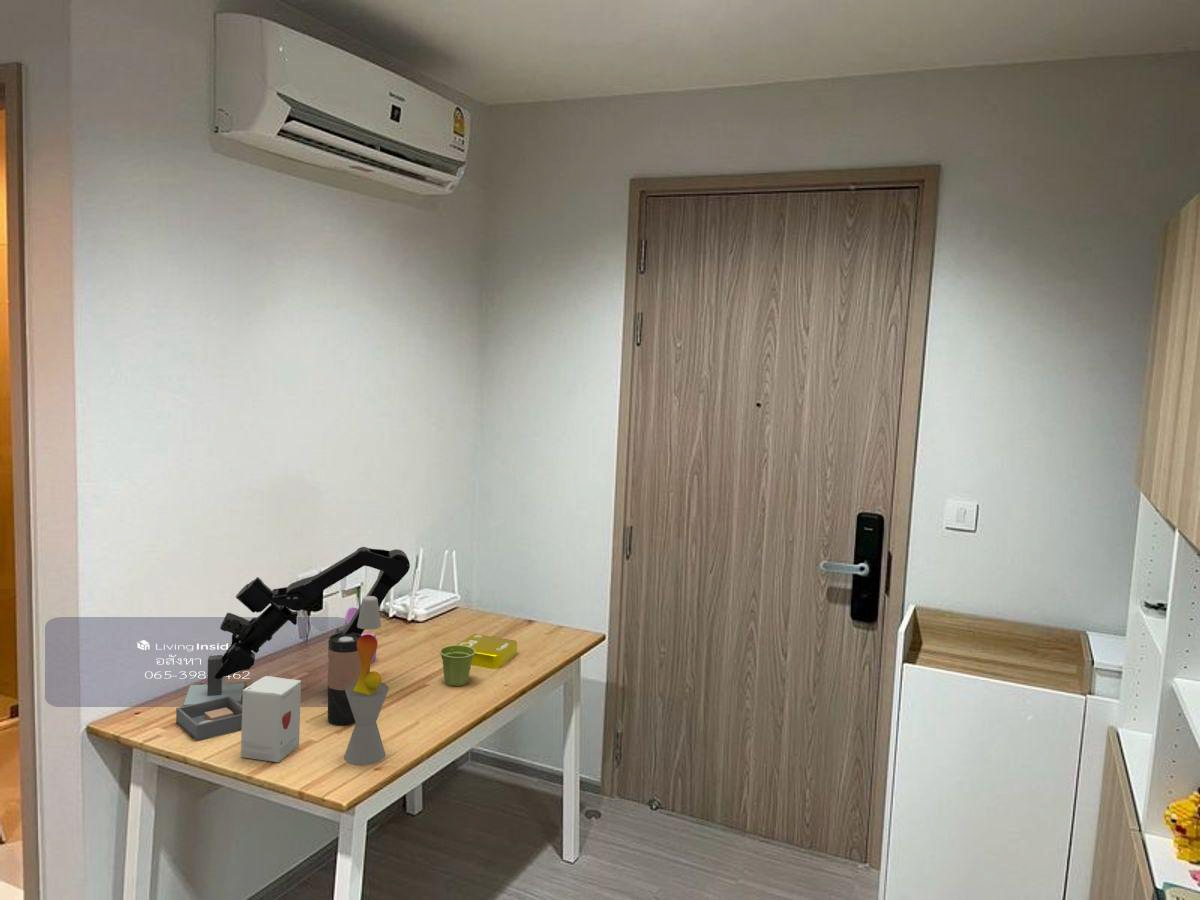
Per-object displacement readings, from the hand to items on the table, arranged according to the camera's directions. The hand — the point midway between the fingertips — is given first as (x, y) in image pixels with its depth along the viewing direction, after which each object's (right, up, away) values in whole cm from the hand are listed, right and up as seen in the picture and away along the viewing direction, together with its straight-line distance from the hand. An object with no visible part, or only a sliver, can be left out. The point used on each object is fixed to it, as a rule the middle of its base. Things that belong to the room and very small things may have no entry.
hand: (217, 671), depth 216 cm
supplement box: (+22, -12, -24) cm, 35 cm away
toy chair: (+25, -6, +32) cm, 41 cm away
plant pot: (+54, -9, +21) cm, 59 cm away
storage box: (+5, -9, -13) cm, 17 cm away
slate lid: (-1, -7, +1) cm, 7 cm away
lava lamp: (+42, -13, -24) cm, 50 cm away
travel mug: (+32, -10, -6) cm, 34 cm away
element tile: (+59, -7, +42) cm, 73 cm away
